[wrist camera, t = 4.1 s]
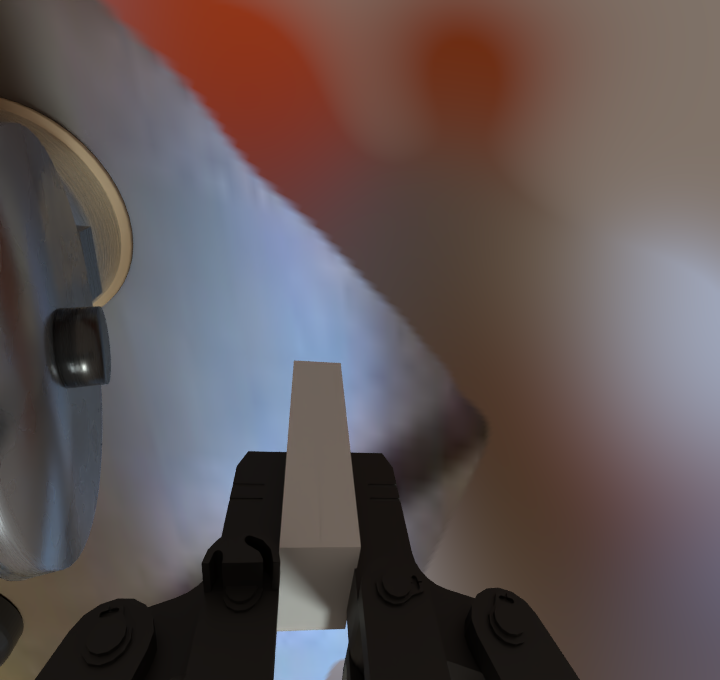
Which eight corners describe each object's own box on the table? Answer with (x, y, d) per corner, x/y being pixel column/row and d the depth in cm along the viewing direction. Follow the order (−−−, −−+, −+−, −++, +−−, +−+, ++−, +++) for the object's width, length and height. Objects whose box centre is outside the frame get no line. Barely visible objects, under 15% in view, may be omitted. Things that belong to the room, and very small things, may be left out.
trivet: (-73, 313, 28) (-80, 317, 28) (-168, 73, 22) (-179, 72, 21) (145, 327, 30) (142, 331, 30) (116, 110, 24) (111, 110, 23)
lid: (32, 686, 12) (121, 655, 13) (-236, 145, 5) (-16, 160, 6) (91, 390, 23) (135, 385, 24) (30, 108, 17) (93, 115, 18)
